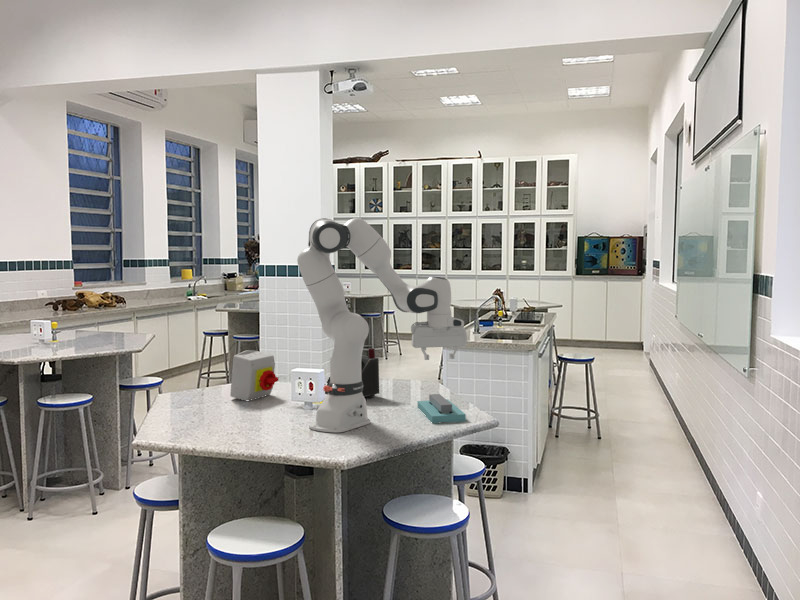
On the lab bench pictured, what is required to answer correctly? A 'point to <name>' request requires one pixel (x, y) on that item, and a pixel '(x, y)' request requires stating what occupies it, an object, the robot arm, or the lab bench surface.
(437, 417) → the mounting plate
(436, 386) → the lab bench surface
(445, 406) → the pin bar
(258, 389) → the electrical switch box
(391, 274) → the robot arm
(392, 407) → the lab bench surface
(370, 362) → the voltmeter
